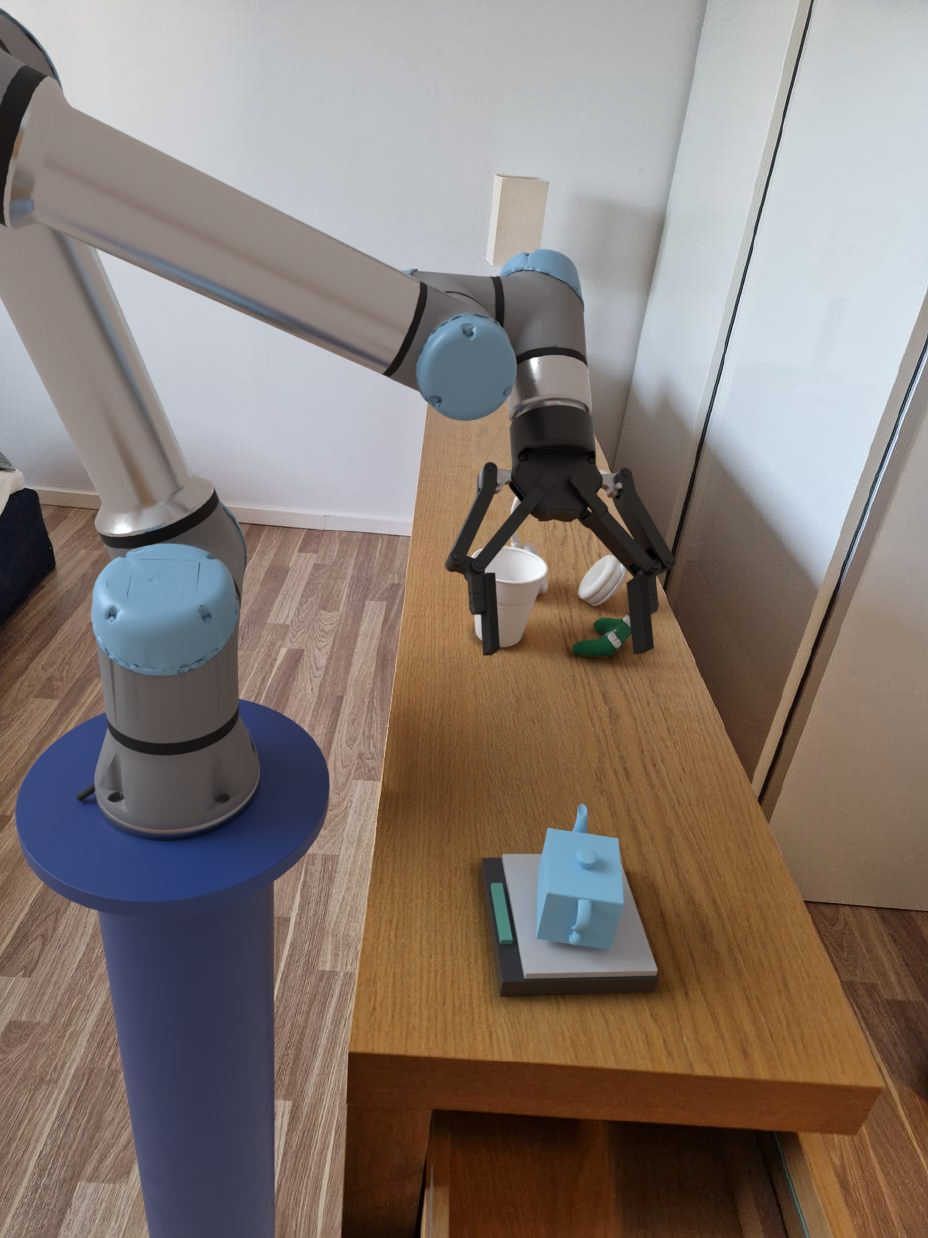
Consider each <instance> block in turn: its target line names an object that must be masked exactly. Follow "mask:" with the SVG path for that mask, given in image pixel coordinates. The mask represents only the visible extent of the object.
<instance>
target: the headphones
mask: <svg viewBox="0 0 928 1238" xmlns="http://www.w3.org/2000/svg"><path fill="white" fill-rule="evenodd" d="M598 470H599V471H600V473H601V474H610V473H611V472H608V471H605V470H601V469H599V468H598ZM520 503H521V502H520V500H519V499H518V498H517V497H516V496H515V497H514V499H513V502H512V505H511V509H510V515H511V514H512V513H513V511H514V510H515V509H516V508H517V507H518V505H519V504H520ZM510 539H511V543H510V547H515V548H520V549H523V550H526V551H529V552H531V553H533V554H535V555H537V556H539V557H540V558H541V559H542V556H541V554H540V553H539V551H538V549H537V548H536V546H535V545H534V544H533V543H532V542H529V541H528V542H525V543H524V544H523V545H521V541H520V538H519V536H518V535H517V530H516V531H515V533H514V534H513V535H512V536H511V538H510ZM627 573H628V570H627V569H626V568H625V567H624V566H623V565H622V564H621V563H620V562H619V561H618V559H617V558H616V557H615V556H614V555H613V554H607V555H604V556H603V557H601V558H599V559H598V560H597V561H596V562H595V563H594V564H593V565H592V566H591V567H590V568H589V569H588V570H587V572H586V573H585V575H584V576H583V578H582V579H581V582H580V584H579V586H578V591H577V594H578V597H579V599H581V600H583V601H585V602H586V603H588V604H589V605H591V606H592V607H597V606H601V605H602V604H604V603H605V602H607V601H609V600H610V599H611V598H612V597H613V596H614V595H615V593H617V591H618V590H619V588H620V587H621V585H622V584H623V582H624V580H625V577H626V575H627ZM548 589H549V581H548V574H547V575H546V576H545V577H544V578H543V581H542V584H541V586H540V589H539V592H538V594H537V595H540V594H545V593H547V591H548Z"/></svg>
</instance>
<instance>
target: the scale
mask: <svg viewBox="0 0 928 1238" xmlns="http://www.w3.org/2000/svg"><path fill="white" fill-rule="evenodd" d="M541 856H542V853H502V857H482V858H481V862H480V869H479V874H480V882H481V887H482V892H483V893H482V894H483V899H484V907H485V912H486V918H487V925H488V931H489V937H490V944H491V949H492V956H493V962H494V969H495V977H496V981H497V987H498V993H499V997H505V996H508V997H509V996H540V995H542V996H545V995H547V996H549V995H578V994H579V995H580V994H581V995H583V994H615V993H618V994H619V993H620V994H621V993H649V992H650V993H653V992H655V990H656V987H657V984H658V982H659V979H660V977H659V974H658V971H659V970H658V967H657V964H656V961H655V958H654V954H653V952H652V950H651V946H650V944H649V940H648V938H647V935H646V932H645V928H644V925H643V923H642V919H641V917H640V914H639V911H638V908H637V905H636V903H635V899H634V896H633V894H632V890H631V887H630V884H629V882H628V879H627V876H626V873H625V869H624V867H623V863H622V861H621V860H620V862H621V873H622V885H623V897H624V907H623V910H622V914H621V917H620V920H619V924H618V927H617V930H616V933H615V937H614V940H613V943H612V947H611V950H607V949H600V948H594V947H587V946H580V945H579V946H574V945H572V944H567V943H560V942H554V941H547V940H540V939H536V935H537V888H538V870H539V865H540V861H541Z"/></svg>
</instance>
